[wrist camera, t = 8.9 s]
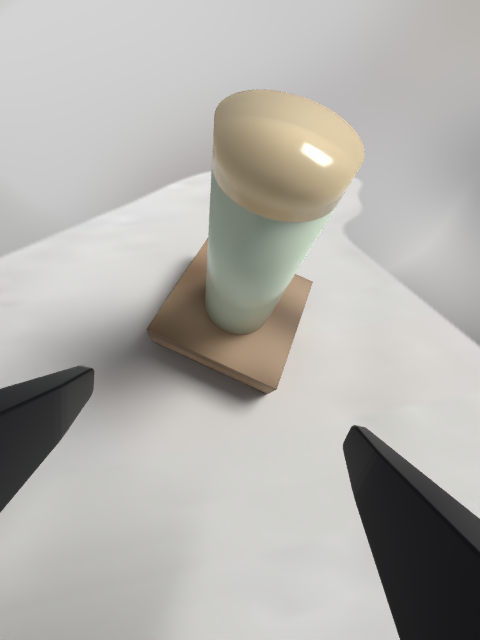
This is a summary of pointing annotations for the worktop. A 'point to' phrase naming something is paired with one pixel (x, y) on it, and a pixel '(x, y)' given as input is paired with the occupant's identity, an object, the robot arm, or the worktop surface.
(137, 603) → the worktop surface
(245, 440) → the worktop surface
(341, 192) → the cream-capped mint cylinder
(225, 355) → the base
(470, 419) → the worktop surface
